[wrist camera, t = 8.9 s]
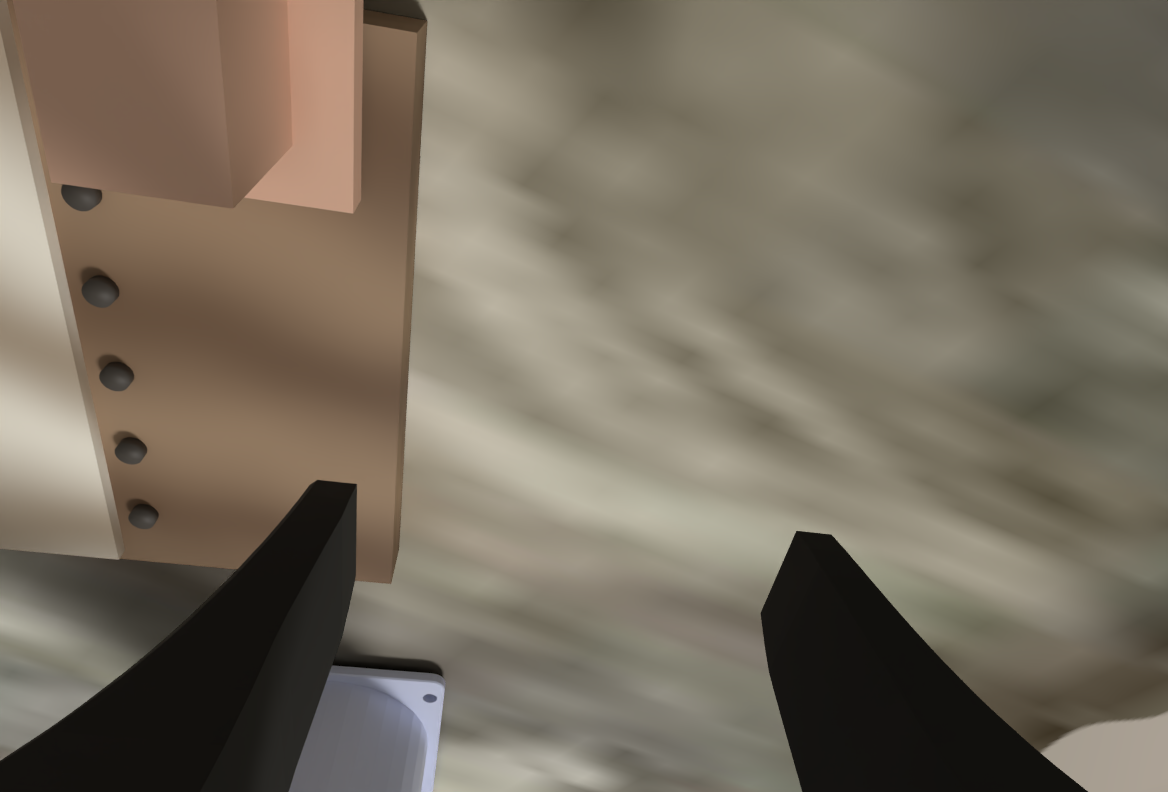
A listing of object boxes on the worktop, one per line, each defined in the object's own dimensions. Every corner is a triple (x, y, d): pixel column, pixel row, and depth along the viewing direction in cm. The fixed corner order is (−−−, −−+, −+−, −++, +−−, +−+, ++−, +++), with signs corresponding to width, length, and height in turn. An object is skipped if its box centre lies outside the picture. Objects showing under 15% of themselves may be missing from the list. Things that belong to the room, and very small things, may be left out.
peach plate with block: (360, 200, 17) (310, 287, 14) (111, 163, 17) (-11, 244, 13) (364, -123, 14) (299, -119, 10) (53, -184, 13) (-131, -202, 10)
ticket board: (399, 549, 26) (388, 593, 24) (-65, 503, 24) (-108, 548, 22) (427, 20, 17) (414, 36, 15) (-300, -109, 15) (-398, -106, 14)
